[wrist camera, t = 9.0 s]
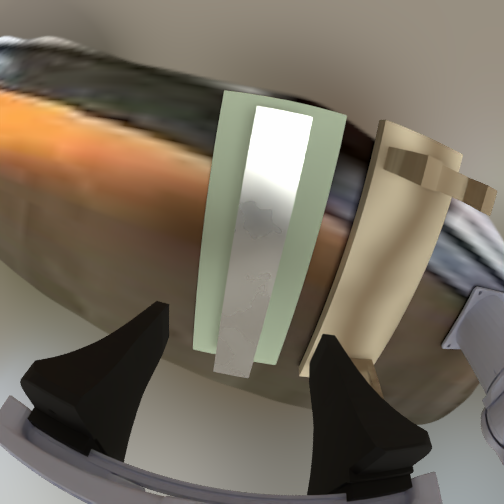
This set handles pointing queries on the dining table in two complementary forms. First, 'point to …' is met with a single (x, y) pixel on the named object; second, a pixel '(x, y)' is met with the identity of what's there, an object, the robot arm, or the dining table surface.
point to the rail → (260, 233)
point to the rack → (392, 241)
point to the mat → (226, 209)
